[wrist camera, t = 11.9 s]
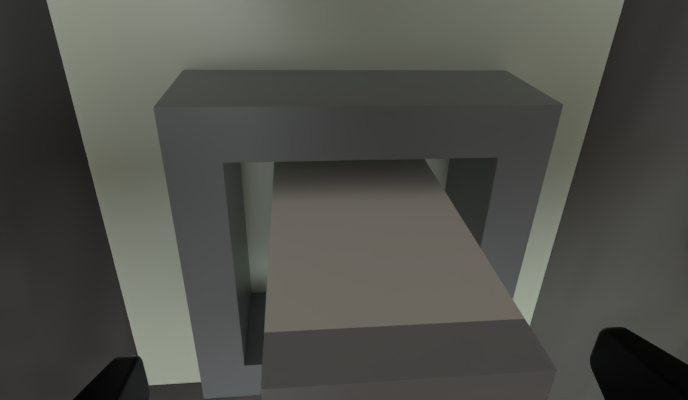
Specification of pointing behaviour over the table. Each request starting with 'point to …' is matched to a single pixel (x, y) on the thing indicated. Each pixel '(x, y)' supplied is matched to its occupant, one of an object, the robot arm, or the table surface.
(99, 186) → the socket
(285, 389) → the plug
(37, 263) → the table surface
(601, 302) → the table surface
